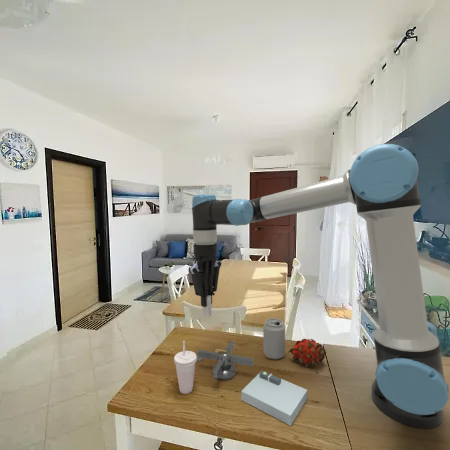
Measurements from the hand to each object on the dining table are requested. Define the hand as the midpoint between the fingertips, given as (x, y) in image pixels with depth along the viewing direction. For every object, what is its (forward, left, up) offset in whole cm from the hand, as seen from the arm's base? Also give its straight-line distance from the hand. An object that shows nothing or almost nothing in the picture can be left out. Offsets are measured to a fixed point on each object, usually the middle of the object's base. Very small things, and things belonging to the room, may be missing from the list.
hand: (207, 315), depth 86 cm
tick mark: (+4, -1, -17) cm, 17 cm away
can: (-15, -19, -17) cm, 29 cm away
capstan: (-7, -1, -17) cm, 18 cm away
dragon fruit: (-26, -21, -17) cm, 37 cm away
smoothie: (-3, +12, -17) cm, 21 cm away
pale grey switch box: (-25, +1, -17) cm, 30 cm away
